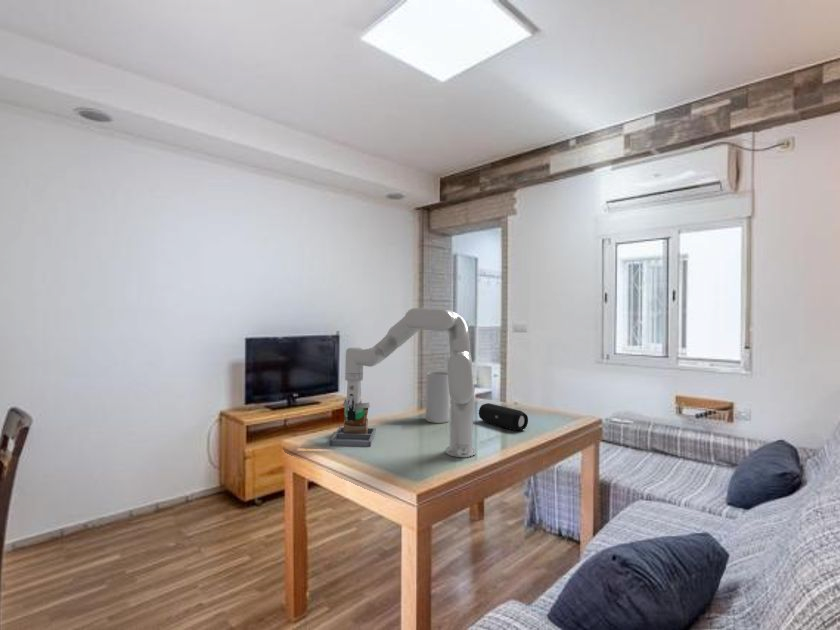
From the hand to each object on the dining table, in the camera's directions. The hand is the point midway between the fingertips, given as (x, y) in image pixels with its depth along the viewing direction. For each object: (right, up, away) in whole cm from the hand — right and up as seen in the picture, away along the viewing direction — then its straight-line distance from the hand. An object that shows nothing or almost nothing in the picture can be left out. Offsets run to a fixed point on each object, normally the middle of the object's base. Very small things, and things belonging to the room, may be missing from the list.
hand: (352, 417), depth 194 cm
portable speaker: (+71, -13, +38) cm, 82 cm away
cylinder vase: (+38, -12, +45) cm, 60 cm away
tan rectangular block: (0, -10, +10) cm, 14 cm away
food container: (0, -3, -1) cm, 3 cm away
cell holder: (0, -11, +5) cm, 12 cm away
